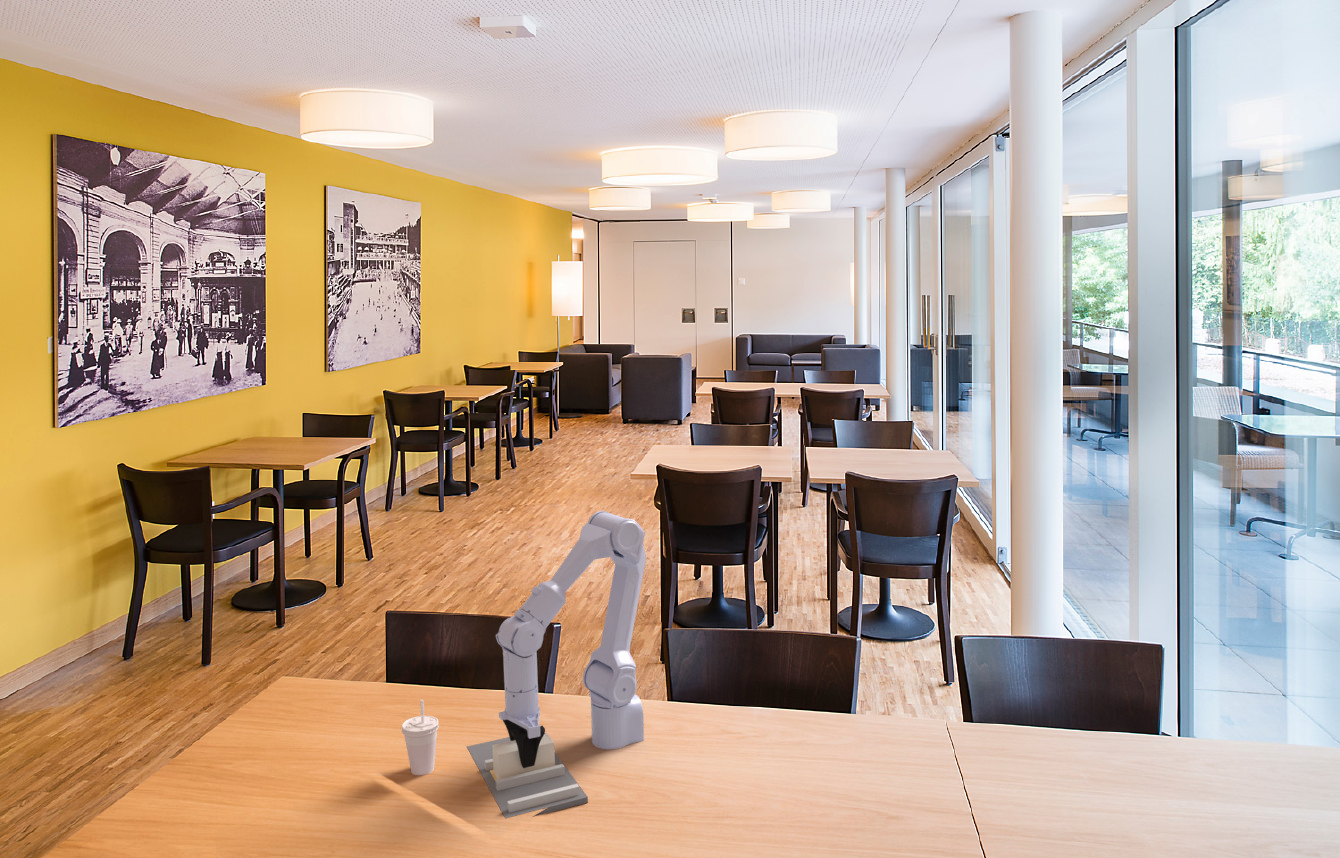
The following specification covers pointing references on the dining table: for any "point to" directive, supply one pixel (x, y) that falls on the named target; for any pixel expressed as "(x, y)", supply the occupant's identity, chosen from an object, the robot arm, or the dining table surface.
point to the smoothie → (421, 742)
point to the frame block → (509, 760)
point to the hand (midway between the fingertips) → (524, 759)
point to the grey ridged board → (528, 785)
